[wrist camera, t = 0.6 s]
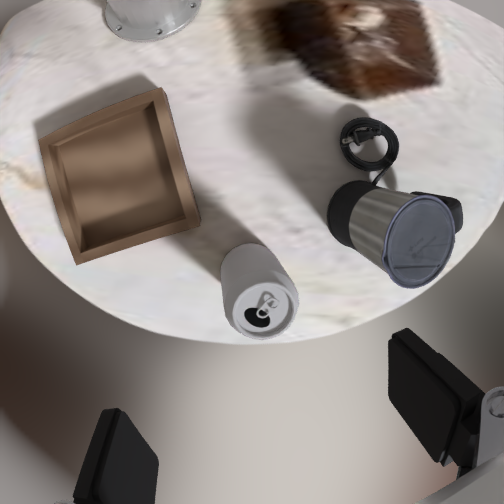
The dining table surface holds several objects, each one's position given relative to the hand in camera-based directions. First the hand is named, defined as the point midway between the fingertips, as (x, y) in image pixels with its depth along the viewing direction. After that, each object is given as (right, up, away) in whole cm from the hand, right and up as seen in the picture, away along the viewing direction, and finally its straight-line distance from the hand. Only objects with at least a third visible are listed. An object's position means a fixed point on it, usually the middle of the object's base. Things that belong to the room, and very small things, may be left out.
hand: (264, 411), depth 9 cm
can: (-1, +3, +31) cm, 31 cm away
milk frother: (+14, +14, +29) cm, 35 cm away
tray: (-16, +14, +25) cm, 33 cm away
